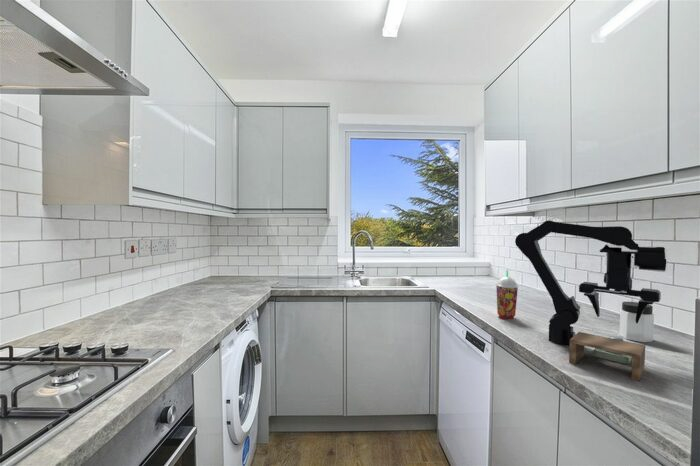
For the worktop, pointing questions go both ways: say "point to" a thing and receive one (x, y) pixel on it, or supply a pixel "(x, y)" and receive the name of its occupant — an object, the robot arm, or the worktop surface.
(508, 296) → the smoothie
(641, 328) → the jar
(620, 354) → the grey rounded cylinder
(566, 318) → the robot arm
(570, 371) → the worktop surface
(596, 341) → the shelf
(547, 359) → the worktop surface
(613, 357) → the tray
